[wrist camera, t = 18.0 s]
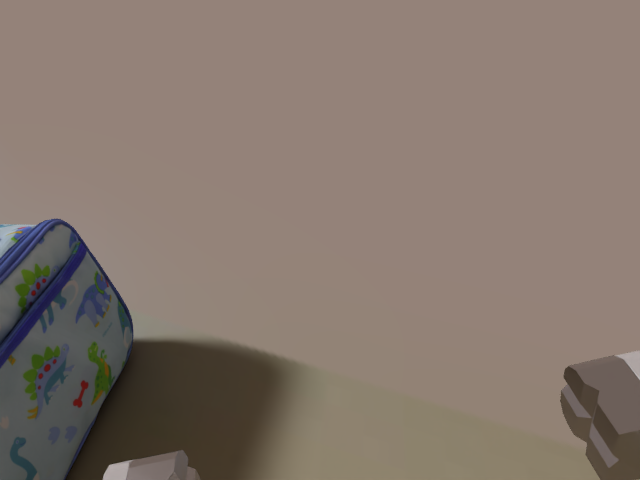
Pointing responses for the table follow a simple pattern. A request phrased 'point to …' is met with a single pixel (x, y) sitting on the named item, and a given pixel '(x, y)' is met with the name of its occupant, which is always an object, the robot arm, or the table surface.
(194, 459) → the table surface
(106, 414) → the table surface
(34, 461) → the lunch box
